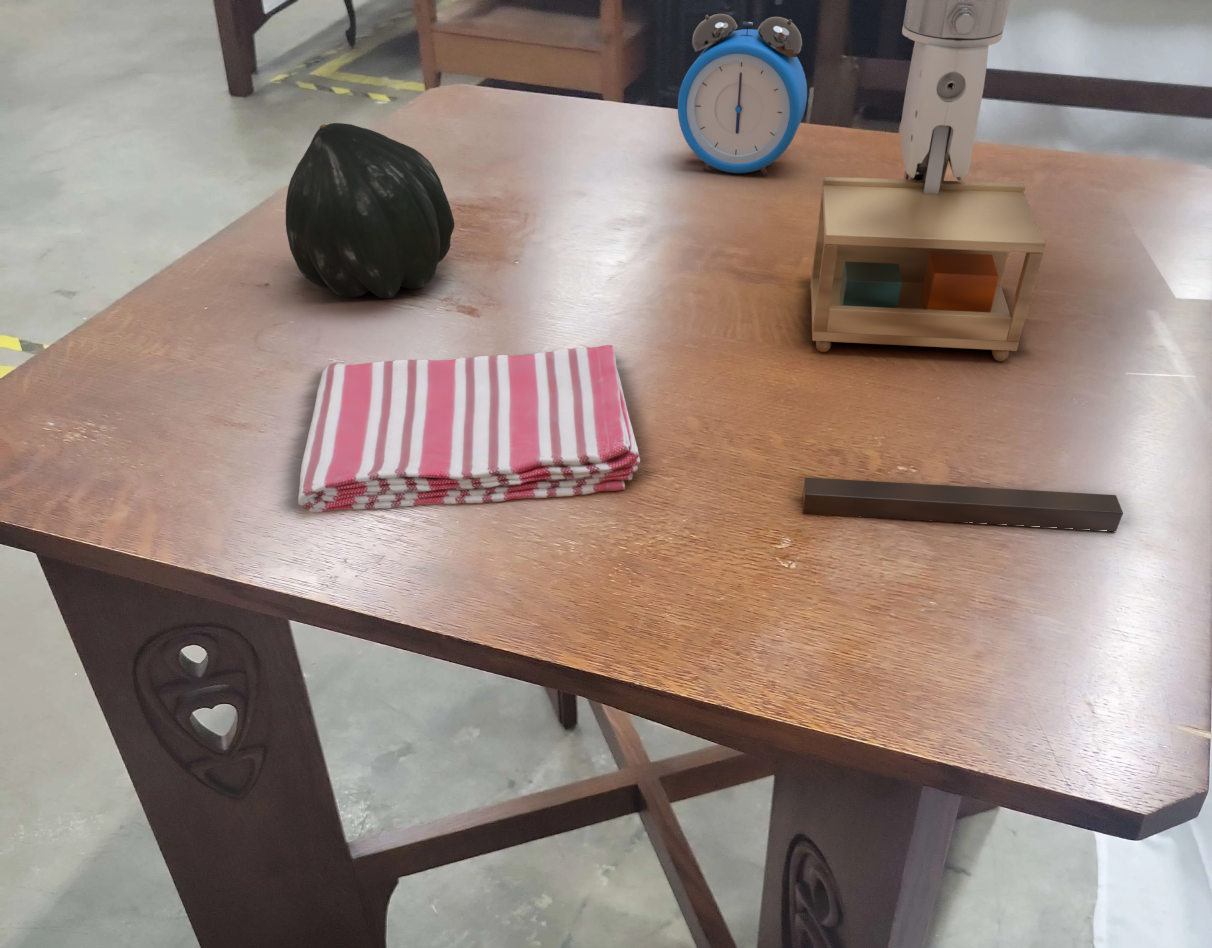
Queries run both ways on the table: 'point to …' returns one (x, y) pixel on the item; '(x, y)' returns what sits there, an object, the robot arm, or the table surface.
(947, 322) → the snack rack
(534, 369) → the dish towel
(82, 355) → the table surface
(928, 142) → the robot arm
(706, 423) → the table surface
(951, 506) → the edge strip
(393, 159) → the squash
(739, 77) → the alarm clock
